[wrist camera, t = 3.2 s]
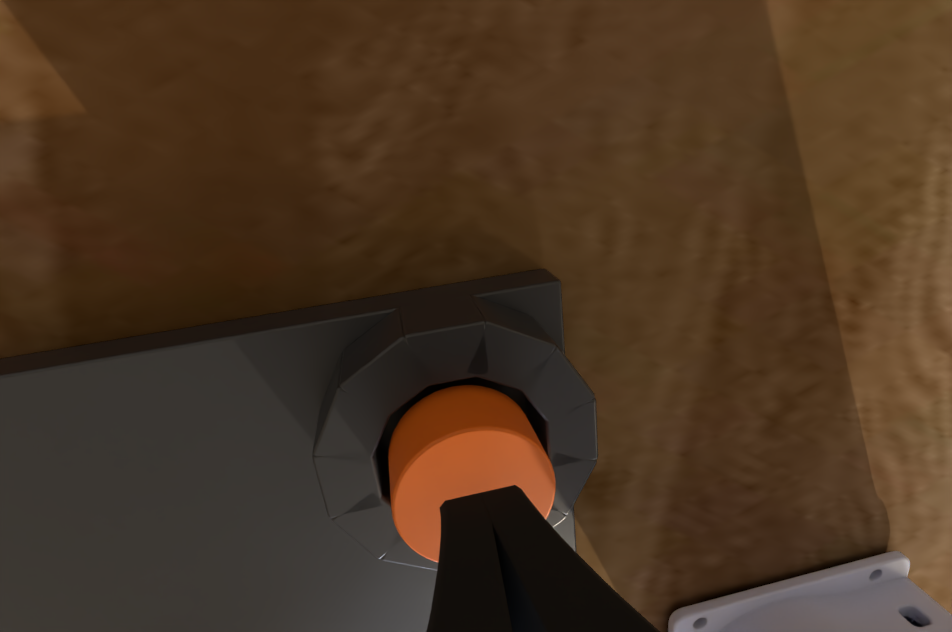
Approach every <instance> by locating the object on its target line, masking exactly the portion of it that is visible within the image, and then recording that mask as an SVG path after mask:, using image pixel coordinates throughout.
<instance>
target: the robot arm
mask: <svg viewBox="0 0 952 632" xmlns="http://www.w3.org/2000/svg"><path fill="white" fill-rule="evenodd" d="M440 516H441V539H440V551H439V561H438V570H437V576H436V582H435V588H434V594H433V601H432V607H431V612H430V618H429V623H428V627H427V631H426V632H660V631H659V630H658V629H657V628H655V627H654V626H653V625H652V624H651V623H650V622H648V621H647V620H646V619H645V618H644V617H643V616H642V615H641V614H640V613H638V612H637V611H636V610H635V609H634V608H633V607H632V606H631V605H630V604H628V603H627V602H626V601H625V600H624V599H623V598H622V597H621V596H620V595H619V594H618V593H617V592H615V591H614V590H613V589H612V588H611V587H610V586H609V585H608V584H607V583H606V582H605V581H604V580H603V579H602V578H601V577H600V576H599V575H598V574H597V573H596V572H595V571H594V570H593V569H592V568H591V567H590V566H589V565H588V564H587V563H586V562H585V561H584V560H583V559H582V558H581V557H580V556H579V555H578V554H577V553H576V552H575V551H574V550H573V549H572V548H571V547H570V546H569V545H568V543H567V542H566V541H565V540H564V539H563V538H562V537H561V536H560V535H559V534H558V533H557V531H556V530H555V529H554V528H553V527H552V526H551V525H550V524H549V522H548V521H547V520H546V519H545V518H544V517H543V515H542V514H541V513H540V512H539V511H538V510H537V508H536V507H535V506H534V505H533V503H532V502H531V501H530V500H529V498H528V497H527V496H526V494H525V493H524V492H523V490H522V489H521V488H519V487H518V486H516V485H512V486H508V487H503V488H499V489H494V490H490V491H485V492H481V493H476V494H472V495H468V496H463V497H459V498H454V499H450V500H445V501H444V503H443V504H442V505H441V506H440ZM909 568H910V560H909V559H908V558H907V557H906V556H905V555H903V554H902V553H901V552H899V551H891V552H887V553H883V554H880V555H876V556H872V557H869V558H865V559H861V560H857V561H854V562H850V563H846V564H842V565H839V566H835V567H831V568H827V569H824V570H820V571H816V572H813V573H809V574H805V575H801V576H798V577H794V578H790V579H786V580H783V581H779V582H775V583H771V584H768V585H764V586H760V587H757V588H753V589H749V590H745V591H742V592H738V593H734V594H730V595H727V596H723V597H719V598H715V599H712V600H708V601H704V602H701V603H697V604H693V605H689V606H686V607H682V608H679V609H677V610H675V611H674V612H673V613H672V614H671V616H670V618H669V621H668V632H952V615H951V614H950V613H949V612H948V611H947V610H945V609H944V608H943V607H942V606H941V605H939V604H938V603H937V602H936V601H935V600H934V599H932V598H931V597H930V596H929V595H928V594H926V593H925V592H924V591H923V590H922V589H920V588H919V587H918V586H917V585H916V584H914V583H913V582H912V581H911V580H910V579H909V578H907V576H908V572H909Z"/></svg>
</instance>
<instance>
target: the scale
mask: <svg viewBox="0 0 952 632" xmlns="http://www.w3.org/2000/svg"><path fill="white" fill-rule="evenodd" d="M459 385H477V386H484V387H488V388H491V389H494V390H497V391H499V392H501V393H503V394H505V395H507V396H508V397H510V398H511V399H512V400H514V401H515V402H516V403H517V404H518V405H519V406H520V408H521V409H522V410H523V412H524V413H525V415H526V417H527V419H528V421H529V422H530V424H531V426H532V428H533V430H534V432H535V433H536V435H537V437H538V439H539V441H540V443H541V445H542V446H543V448H544V450H545V452H546V454H547V456H548V458H549V460H550V462H551V464H552V467H553V470H554V474H555V480H556V487H555V496H554V501H553V505H552V508H551V510H550V513H549V515H548V517H547V519H546V520H547V521H548V522H549V524H550V525H551V526H552V527H553V528H554V529H555V530H556V531H557V533H558V534H559V535H560V536H561V537H562V538H563V539H564V540H565V541H566V542H567V543H568V545H569V546H570V547H571V548H572V549H573V550H574V551H575V552H576V536H575V518H574V503H575V501H576V499H577V498H578V496H579V494H580V492H581V490H582V488H583V486H584V485H585V483H586V481H587V479H588V477H589V475H590V474H591V472H592V470H593V468H594V466H595V464H596V462H597V458H598V443H597V415H596V399H595V396H594V393H593V392H592V390H591V389H590V388H589V386H588V385H587V384H586V382H585V381H584V380H583V378H582V377H581V376H580V374H579V373H578V372H577V370H576V369H575V368H574V366H573V365H572V364H571V363H570V361H569V360H568V359H567V357H566V356H565V346H564V329H563V311H562V294H561V282H560V280H559V279H558V278H556V277H555V276H554V275H553V274H551V273H550V272H549V271H548V270H546V269H538V270H532V271H526V272H520V273H514V274H508V275H502V276H496V277H490V278H484V279H478V280H472V281H466V282H460V283H454V284H448V285H442V286H436V287H430V288H424V289H418V290H412V291H406V292H400V293H394V294H388V295H382V296H376V297H370V298H364V299H358V300H352V301H346V302H340V303H334V304H328V305H322V306H316V307H310V308H304V309H298V310H292V311H286V312H280V313H274V314H268V315H262V316H256V317H250V318H244V319H238V320H232V321H226V322H220V323H214V324H208V325H202V326H196V327H190V328H184V329H178V330H171V331H165V332H159V333H153V334H147V335H141V336H135V337H129V338H123V339H117V340H111V341H105V342H99V343H93V344H87V345H81V346H75V347H69V348H63V349H57V350H51V351H45V352H39V353H33V354H27V355H21V356H15V357H9V358H3V359H0V632H426V631H427V627H428V623H429V618H430V612H431V607H432V601H433V594H434V588H435V582H436V576H437V570H438V562H435V561H432V560H430V559H427V558H425V557H423V556H421V555H420V554H418V553H417V552H415V551H414V550H413V549H411V548H410V547H409V546H408V545H407V544H406V543H405V541H404V540H403V539H402V537H401V536H400V534H399V533H398V531H397V529H396V527H395V524H394V521H393V517H392V510H391V495H390V477H389V460H388V454H389V445H390V440H391V437H392V434H393V431H394V430H395V428H396V426H397V424H398V422H399V421H400V419H401V418H402V417H403V415H404V414H405V413H406V412H407V411H408V410H409V409H410V408H411V407H412V406H413V405H414V404H415V403H417V402H418V401H420V400H421V399H422V398H424V397H426V396H428V395H429V394H431V393H433V392H436V391H438V390H441V389H444V388H448V387H452V386H459Z"/></svg>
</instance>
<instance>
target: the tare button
mask: <svg viewBox="0 0 952 632" xmlns="http://www.w3.org/2000/svg"><path fill="white" fill-rule="evenodd" d="M388 460H389V477H390V495H391V510H392V517H393V521H394V524H395V527H396V529H397V531H398V533H399V534H400V536H401V537H402V539H403V540H404V541H405V543H406V544H407V545H408V546H409V547H410V548H411V549H413V550H414V551H415V552H417V553H418V554H420V555H421V556H423V557H425V558H427V559H430V560H432V561H435V562H438V561H439V551H440V539H441V516H440V506H441V505H442V504H443V503H444V501H445V500H450V499H454V498H459V497H463V496H468V495H472V494H476V493H481V492H485V491H490V490H494V489H499V488H503V487H508V486H512V485H516V486H518V487H519V488H521V489H522V490H523V492H524V493H525V494H526V496H527V497H528V498H529V500H530V501H531V502H532V503H533V505H534V506H535V507H536V508H537V510H538V511H539V512H540V513H541V514H542V515H543V517H544V518H545V519H547V517H548V515H549V513H550V510H551V508H552V505H553V501H554V496H555V487H556V480H555V474H554V470H553V467H552V464H551V462H550V460H549V458H548V456H547V454H546V452H545V450H544V448H543V446H542V445H541V443H540V441H539V439H538V437H537V435H536V433H535V432H534V430H533V428H532V426H531V424H530V422H529V421H528V419H527V417H526V415H525V413H524V412H523V410H522V409H521V408H520V406H519V405H518V404H517V403H516V402H515V401H514V400H512V399H511V398H510V397H508V396H507V395H505V394H503V393H501V392H499V391H497V390H494V389H491V388H488V387H484V386H477V385H459V386H452V387H448V388H444V389H441V390H438V391H436V392H433V393H431V394H429V395H428V396H426V397H424V398H422V399H421V400H420V401H418V402H417V403H415V404H414V405H413V406H412V407H411V408H410V409H409V410H408V411H407V412H406V413H405V414H404V415H403V417H402V418H401V419H400V421H399V422H398V424H397V426H396V428H395V430H394V431H393V434H392V437H391V440H390V445H389V454H388Z"/></svg>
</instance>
